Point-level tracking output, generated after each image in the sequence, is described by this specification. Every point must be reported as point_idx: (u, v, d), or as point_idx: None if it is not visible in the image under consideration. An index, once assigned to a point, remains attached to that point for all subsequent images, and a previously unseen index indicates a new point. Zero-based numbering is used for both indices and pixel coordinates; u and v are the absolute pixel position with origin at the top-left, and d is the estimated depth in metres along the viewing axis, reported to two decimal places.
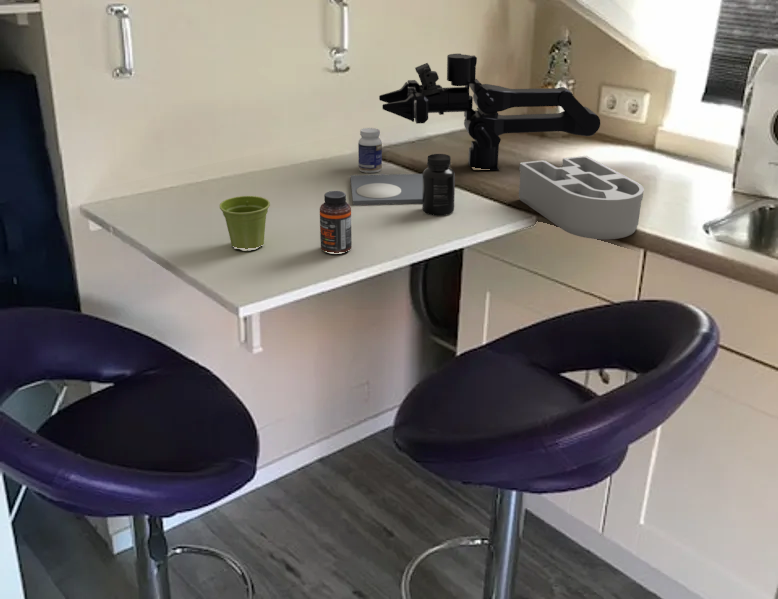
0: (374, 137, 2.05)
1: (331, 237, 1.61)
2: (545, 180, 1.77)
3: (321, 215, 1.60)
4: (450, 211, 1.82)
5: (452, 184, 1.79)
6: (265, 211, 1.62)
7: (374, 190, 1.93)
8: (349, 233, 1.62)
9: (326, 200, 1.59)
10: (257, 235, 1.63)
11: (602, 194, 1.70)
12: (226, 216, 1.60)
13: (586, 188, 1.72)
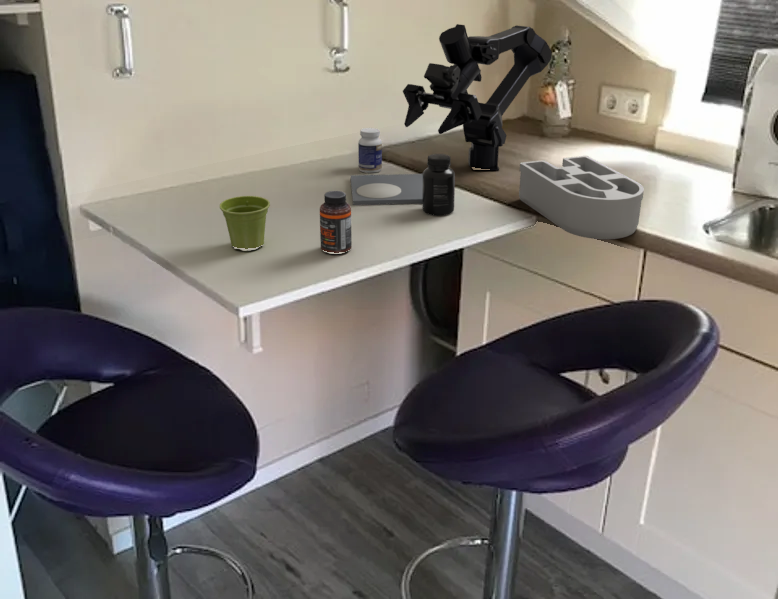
0: (374, 137, 2.05)
1: (331, 237, 1.61)
2: (545, 180, 1.77)
3: (321, 215, 1.60)
4: (450, 211, 1.82)
5: (452, 184, 1.79)
6: (265, 211, 1.62)
7: (374, 190, 1.93)
8: (349, 233, 1.62)
9: (326, 200, 1.59)
10: (257, 235, 1.63)
11: (602, 194, 1.70)
12: (226, 216, 1.60)
13: (586, 188, 1.73)
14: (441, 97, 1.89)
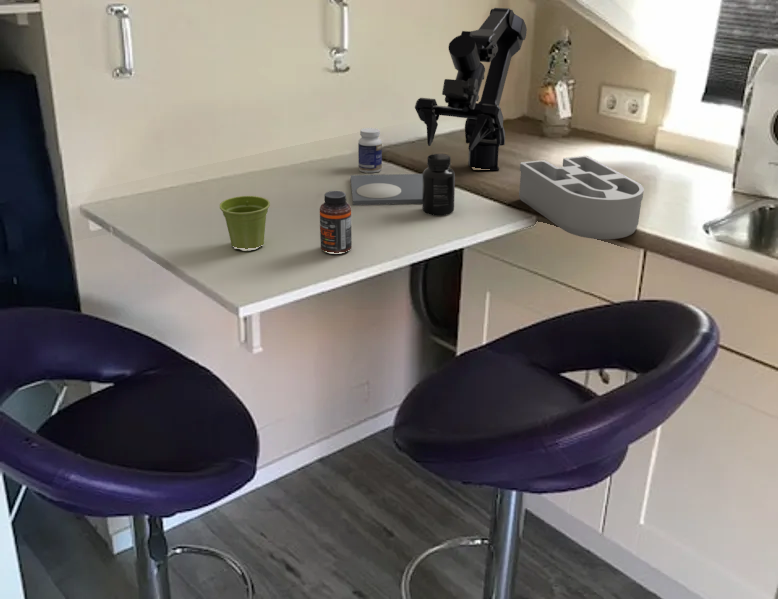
0: (374, 137, 2.05)
1: (331, 237, 1.61)
2: (545, 180, 1.77)
3: (321, 215, 1.60)
4: (450, 211, 1.82)
5: (452, 184, 1.79)
6: (265, 211, 1.62)
7: (374, 190, 1.93)
8: (349, 233, 1.62)
9: (326, 200, 1.59)
10: (257, 235, 1.63)
11: (602, 194, 1.70)
12: (226, 216, 1.60)
13: (586, 188, 1.73)
14: (459, 109, 1.85)
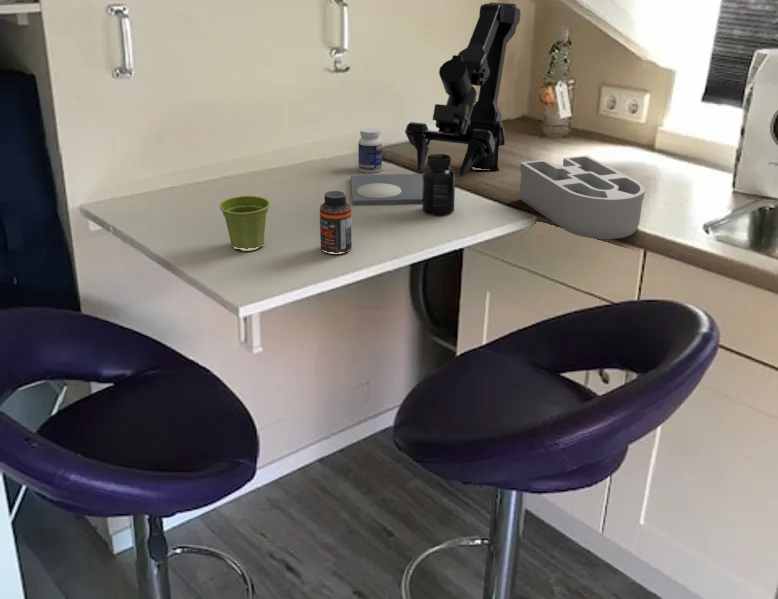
0: (374, 137, 2.05)
1: (331, 237, 1.61)
2: (546, 180, 1.77)
3: (321, 215, 1.60)
4: (450, 211, 1.82)
5: (452, 184, 1.79)
6: (265, 211, 1.62)
7: (374, 190, 1.93)
8: (349, 233, 1.62)
9: (326, 200, 1.59)
10: (257, 235, 1.63)
11: (603, 194, 1.70)
12: (226, 216, 1.60)
13: (587, 188, 1.73)
14: (450, 134, 1.82)
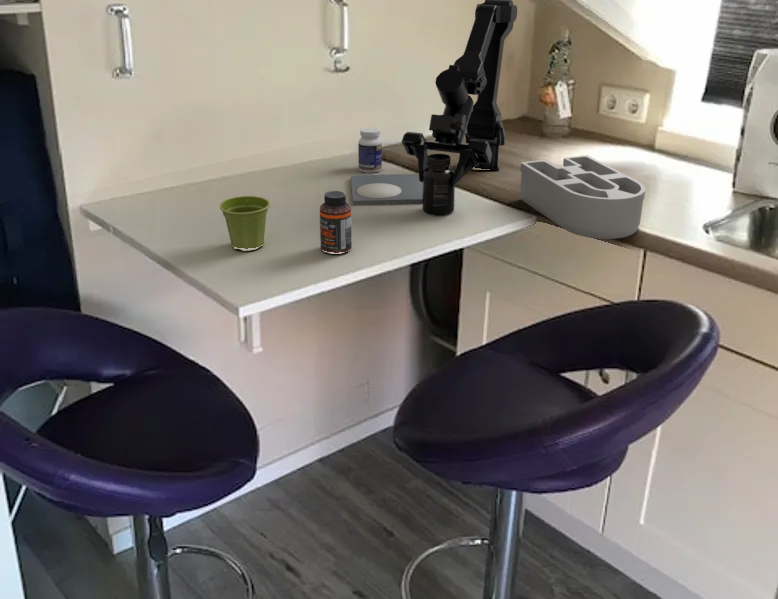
0: (374, 137, 2.05)
1: (331, 237, 1.61)
2: (547, 180, 1.77)
3: (321, 215, 1.60)
4: (450, 211, 1.82)
5: None
6: (265, 211, 1.62)
7: (374, 190, 1.93)
8: (349, 233, 1.62)
9: (326, 200, 1.59)
10: (257, 235, 1.63)
11: (604, 193, 1.70)
12: (226, 216, 1.60)
13: (588, 187, 1.73)
14: (451, 145, 1.81)
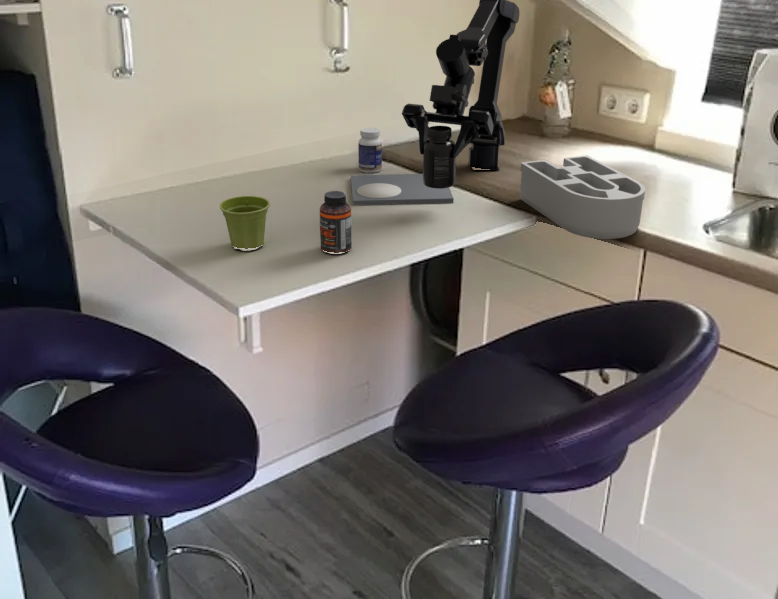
0: (374, 137, 2.05)
1: (331, 237, 1.61)
2: (547, 180, 1.77)
3: (321, 215, 1.60)
4: (451, 184, 1.79)
5: None
6: (265, 211, 1.62)
7: (374, 190, 1.93)
8: (349, 233, 1.62)
9: (326, 200, 1.59)
10: (257, 235, 1.63)
11: (604, 194, 1.70)
12: (226, 216, 1.60)
13: (588, 188, 1.73)
14: (452, 116, 1.78)
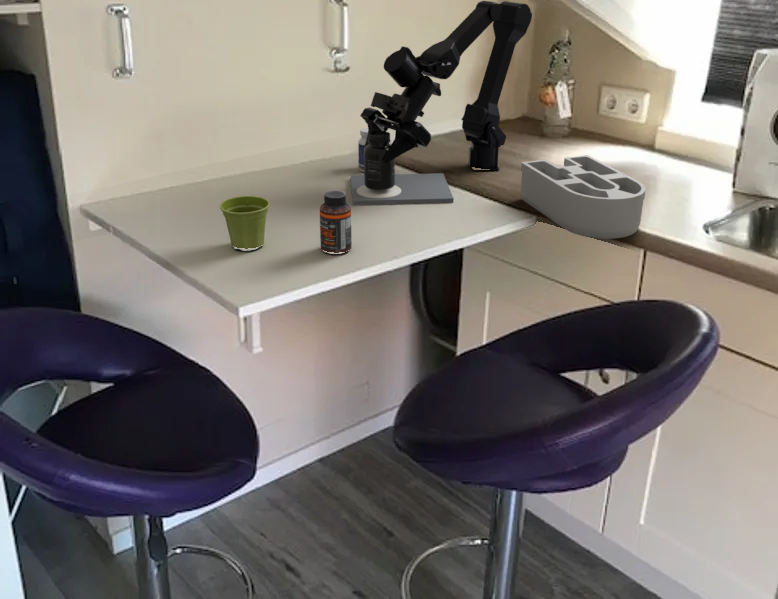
0: None
1: (331, 237, 1.61)
2: (547, 179, 1.77)
3: (321, 215, 1.60)
4: (384, 187, 1.89)
5: None
6: (265, 211, 1.62)
7: (374, 190, 1.93)
8: (349, 233, 1.62)
9: (326, 200, 1.59)
10: (257, 235, 1.63)
11: (604, 193, 1.70)
12: (226, 216, 1.60)
13: (588, 187, 1.73)
14: (396, 124, 1.87)
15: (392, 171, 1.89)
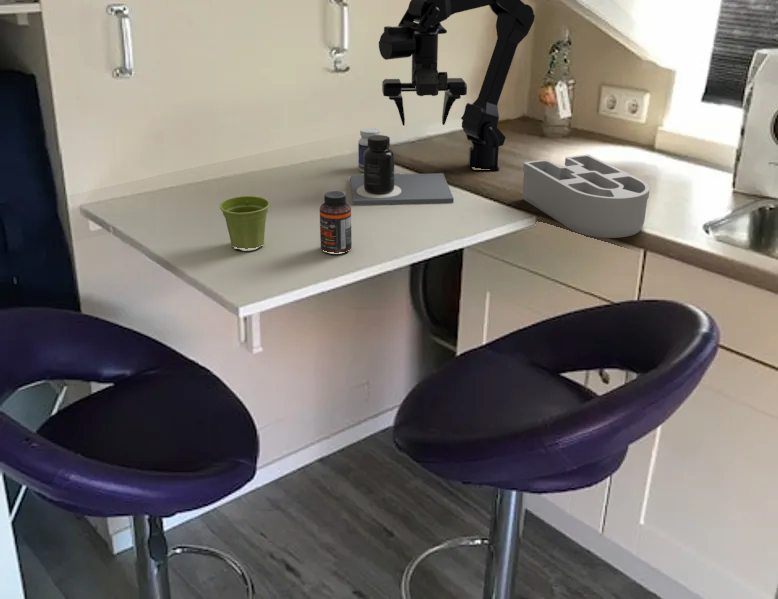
0: None
1: (331, 237, 1.61)
2: (551, 179, 1.78)
3: (321, 215, 1.60)
4: (384, 191, 1.89)
5: (385, 165, 1.87)
6: (265, 211, 1.62)
7: None
8: (349, 233, 1.62)
9: (326, 200, 1.59)
10: (257, 235, 1.63)
11: (609, 193, 1.71)
12: (226, 216, 1.60)
13: (592, 187, 1.73)
14: None
15: (391, 175, 1.89)
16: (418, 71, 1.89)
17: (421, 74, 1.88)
